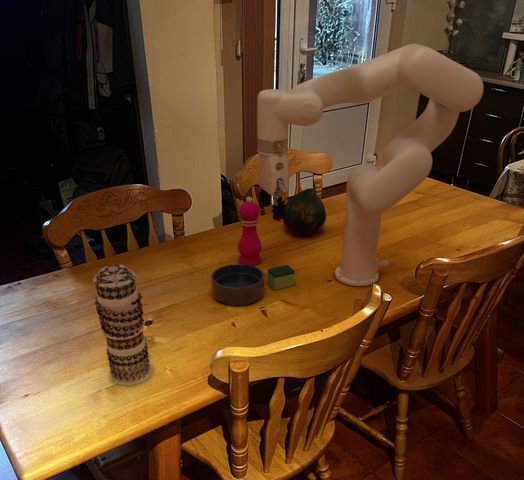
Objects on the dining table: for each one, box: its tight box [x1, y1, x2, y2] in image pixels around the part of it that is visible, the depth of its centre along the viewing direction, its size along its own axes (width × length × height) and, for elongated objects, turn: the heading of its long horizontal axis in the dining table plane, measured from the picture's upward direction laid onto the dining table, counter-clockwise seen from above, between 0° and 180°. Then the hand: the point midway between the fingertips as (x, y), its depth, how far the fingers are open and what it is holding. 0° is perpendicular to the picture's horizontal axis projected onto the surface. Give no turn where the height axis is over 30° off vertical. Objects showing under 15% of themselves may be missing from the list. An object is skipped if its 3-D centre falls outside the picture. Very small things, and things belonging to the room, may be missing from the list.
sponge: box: [267, 264, 296, 290], centre depth 149 cm, size 6×4×4 cm
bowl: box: [210, 263, 265, 307], centre depth 144 cm, size 14×14×6 cm
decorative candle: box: [92, 264, 152, 386], centre depth 109 cm, size 9×9×25 cm
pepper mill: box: [237, 196, 263, 266], centre depth 156 cm, size 7×7×20 cm
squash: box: [282, 187, 327, 236], centre depth 178 cm, size 14×15×15 cm
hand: (271, 212), depth 141 cm, fingers open, 9 cm apart
